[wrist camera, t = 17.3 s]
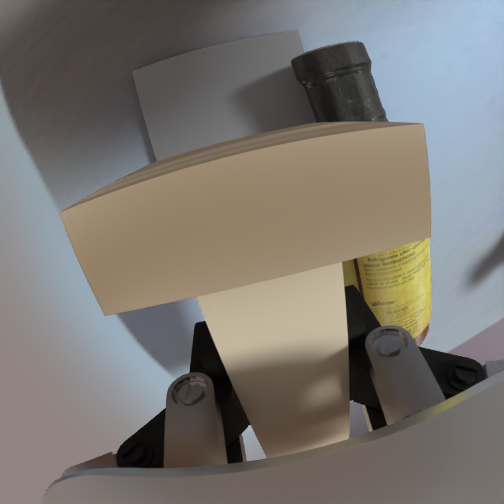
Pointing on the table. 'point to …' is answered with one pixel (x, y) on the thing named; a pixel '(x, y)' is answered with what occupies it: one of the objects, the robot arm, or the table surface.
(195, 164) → the beige t-shaped block
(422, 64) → the table surface
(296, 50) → the mat
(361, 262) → the sauce bottle
